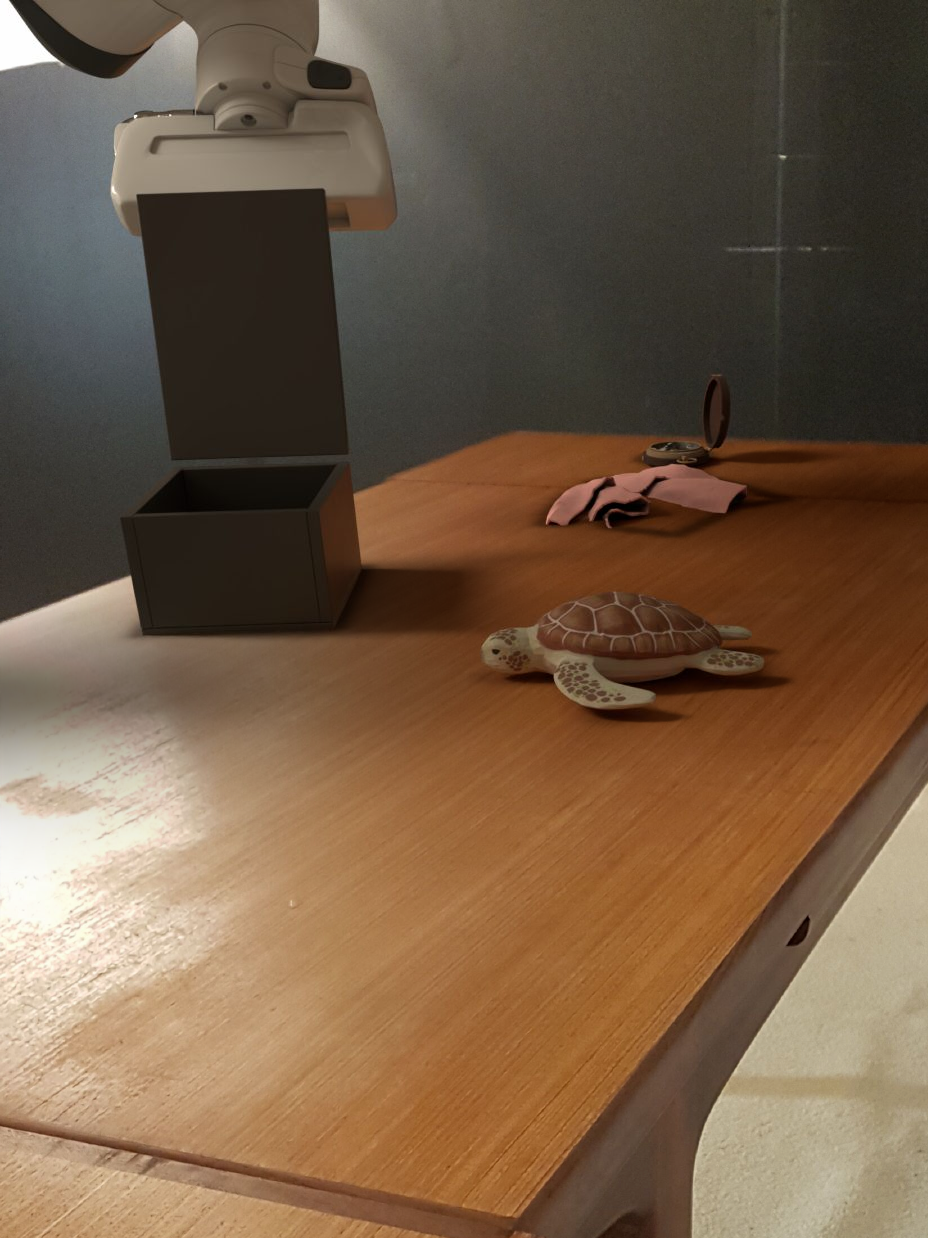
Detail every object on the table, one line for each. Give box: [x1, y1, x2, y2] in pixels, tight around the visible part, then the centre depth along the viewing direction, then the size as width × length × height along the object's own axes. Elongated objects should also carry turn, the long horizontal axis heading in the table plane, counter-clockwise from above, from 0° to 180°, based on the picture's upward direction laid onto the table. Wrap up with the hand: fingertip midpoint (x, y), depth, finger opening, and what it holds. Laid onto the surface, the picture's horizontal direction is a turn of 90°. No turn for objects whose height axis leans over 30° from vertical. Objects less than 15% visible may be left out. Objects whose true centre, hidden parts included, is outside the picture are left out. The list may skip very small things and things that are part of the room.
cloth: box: [545, 464, 748, 529], centre depth 135 cm, size 20×22×2 cm
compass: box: [641, 373, 731, 467], centre depth 148 cm, size 8×8×7 cm
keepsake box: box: [119, 461, 363, 636], centre depth 111 cm, size 16×13×8 cm
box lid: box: [136, 188, 350, 461], centre depth 112 cm, size 16×13×1 cm
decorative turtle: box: [479, 590, 765, 710], centre depth 96 cm, size 18×17×5 cm
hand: (254, 273), depth 116 cm, fingers closed
